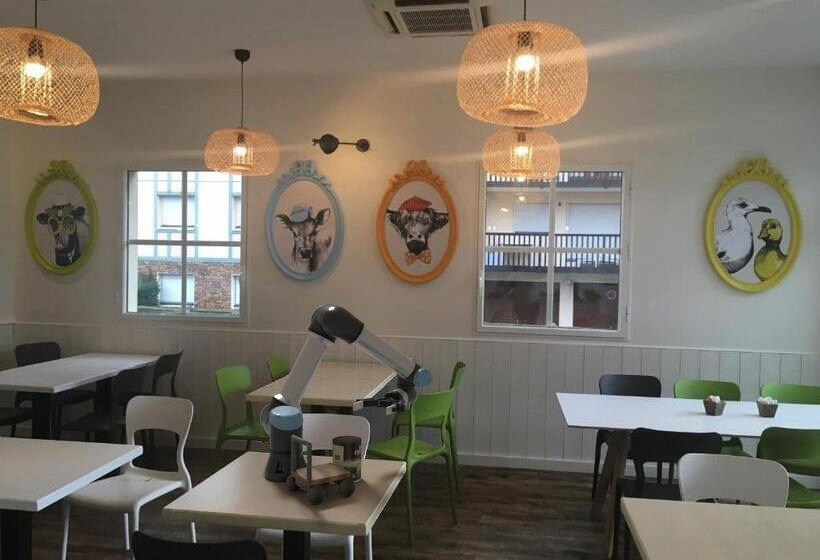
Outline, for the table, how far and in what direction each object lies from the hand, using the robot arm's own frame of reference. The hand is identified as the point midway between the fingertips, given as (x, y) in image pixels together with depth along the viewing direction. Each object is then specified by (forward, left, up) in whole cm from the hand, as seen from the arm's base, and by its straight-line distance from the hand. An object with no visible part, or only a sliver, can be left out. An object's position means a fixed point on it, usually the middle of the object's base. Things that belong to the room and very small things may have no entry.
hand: (370, 409), depth 232 cm
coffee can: (+3, -12, -23) cm, 26 cm away
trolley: (+11, -26, -23) cm, 36 cm away
